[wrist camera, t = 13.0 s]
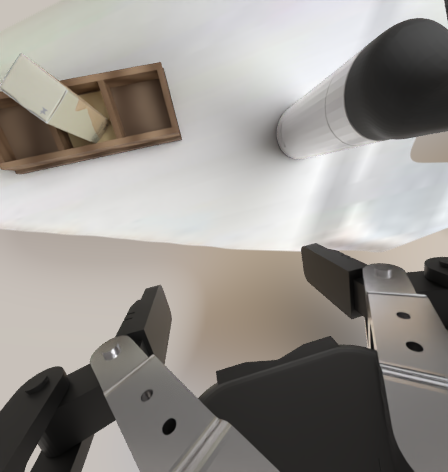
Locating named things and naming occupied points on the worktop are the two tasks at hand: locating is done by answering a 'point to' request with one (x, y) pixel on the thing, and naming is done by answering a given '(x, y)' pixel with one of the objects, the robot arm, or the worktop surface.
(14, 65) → the box
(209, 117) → the worktop surface
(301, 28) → the worktop surface
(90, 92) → the tray
